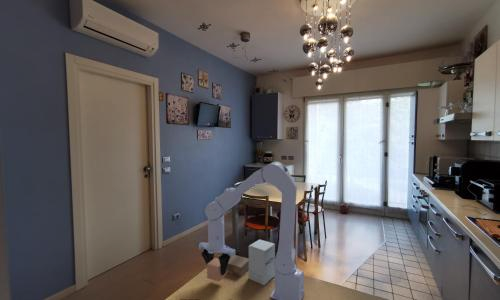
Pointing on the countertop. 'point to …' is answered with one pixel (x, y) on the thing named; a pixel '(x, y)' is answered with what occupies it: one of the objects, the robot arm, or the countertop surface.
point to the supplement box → (261, 261)
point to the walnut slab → (238, 265)
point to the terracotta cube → (214, 270)
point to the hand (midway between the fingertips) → (217, 271)
